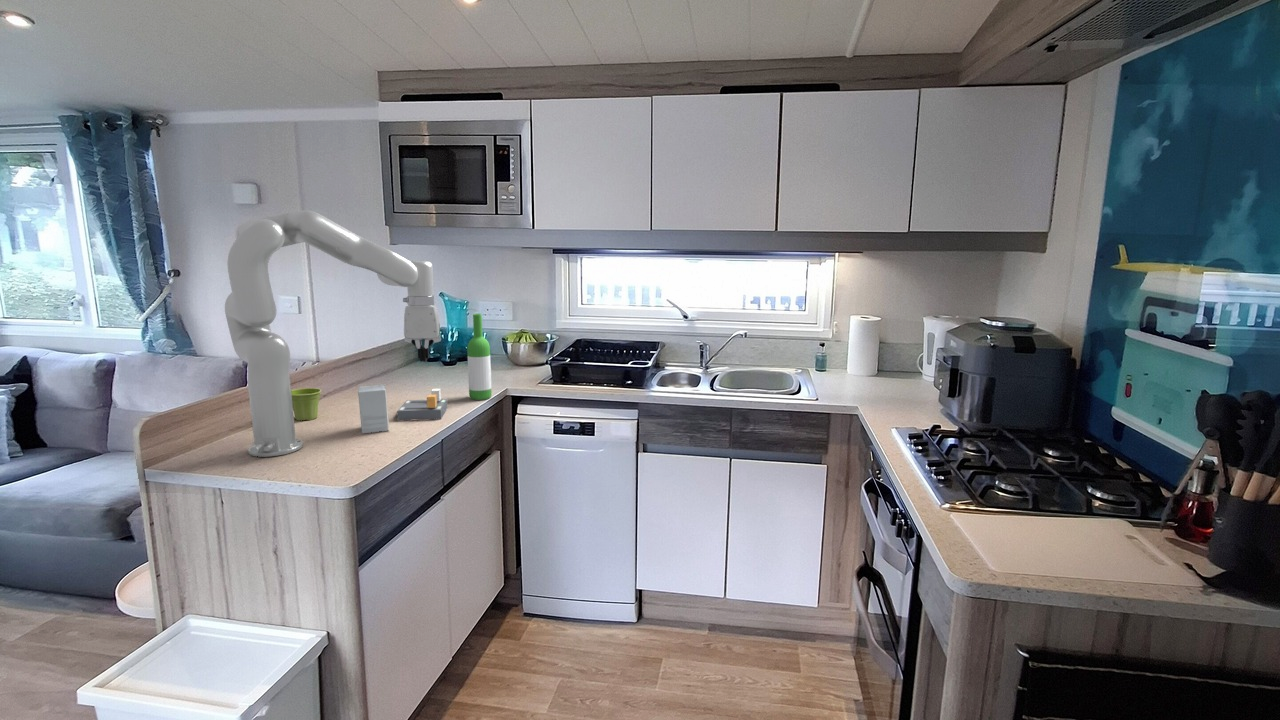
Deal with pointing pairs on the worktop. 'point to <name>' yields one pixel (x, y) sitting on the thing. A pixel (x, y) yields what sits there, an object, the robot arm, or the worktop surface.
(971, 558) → the worktop surface
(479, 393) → the wine bottle
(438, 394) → the white slider switch
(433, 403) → the block
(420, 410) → the slider switch panel
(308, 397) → the plant pot
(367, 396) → the supplement box
